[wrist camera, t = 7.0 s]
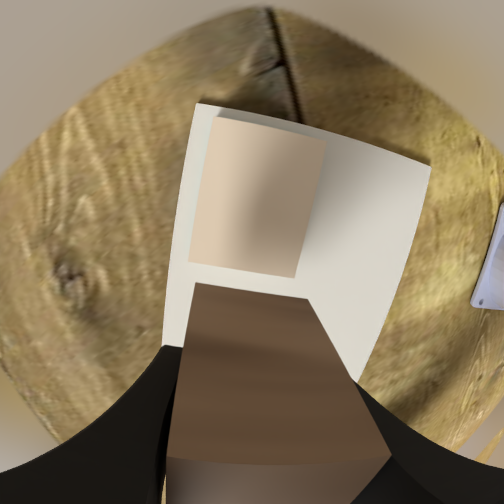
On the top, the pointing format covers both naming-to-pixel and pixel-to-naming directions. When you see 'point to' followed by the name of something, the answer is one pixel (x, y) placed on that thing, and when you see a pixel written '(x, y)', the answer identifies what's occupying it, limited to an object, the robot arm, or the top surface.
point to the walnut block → (265, 407)
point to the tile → (255, 197)
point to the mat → (316, 237)
